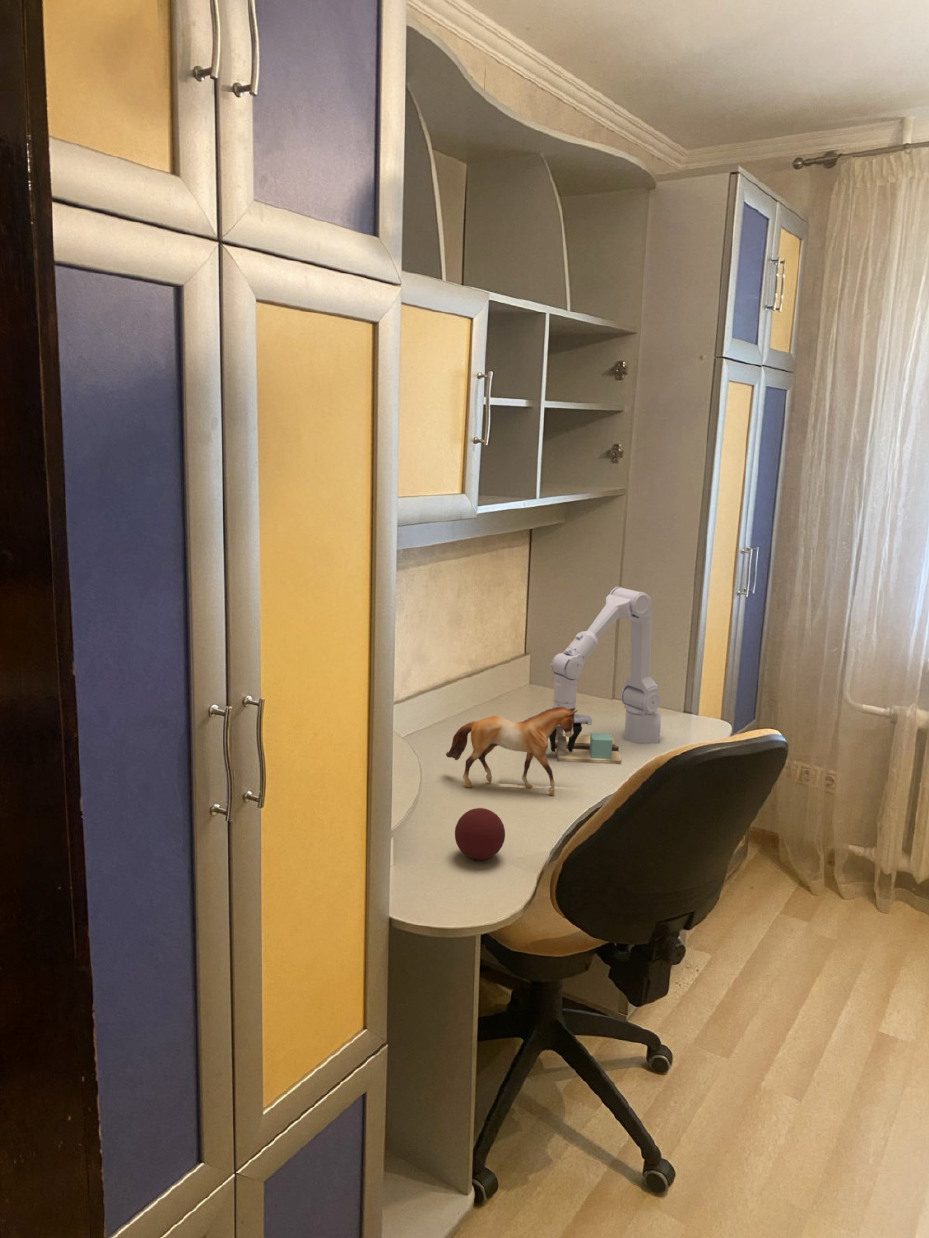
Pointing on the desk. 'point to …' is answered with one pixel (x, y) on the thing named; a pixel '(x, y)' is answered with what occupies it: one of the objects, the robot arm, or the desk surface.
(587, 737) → the empty strip
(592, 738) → the teal cube
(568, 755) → the strip
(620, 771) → the desk surface
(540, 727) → the horse figurine
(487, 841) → the decorative ball
